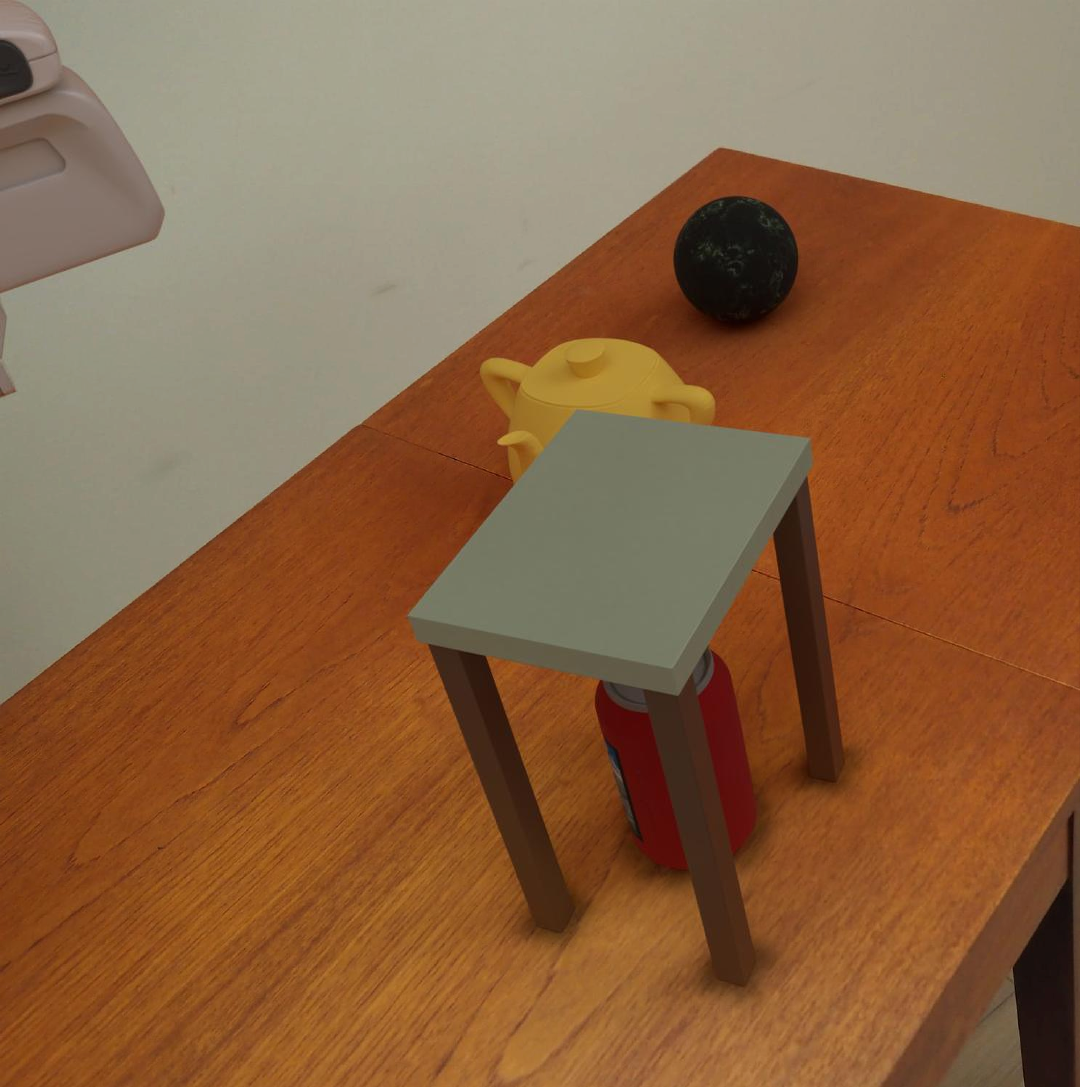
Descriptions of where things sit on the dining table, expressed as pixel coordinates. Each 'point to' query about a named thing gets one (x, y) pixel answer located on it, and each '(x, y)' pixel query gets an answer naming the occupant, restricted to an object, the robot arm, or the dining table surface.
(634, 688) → the beverage can
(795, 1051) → the dining table surface
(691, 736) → the side table
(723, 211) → the decorative stone
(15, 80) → the robot arm
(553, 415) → the teapot
